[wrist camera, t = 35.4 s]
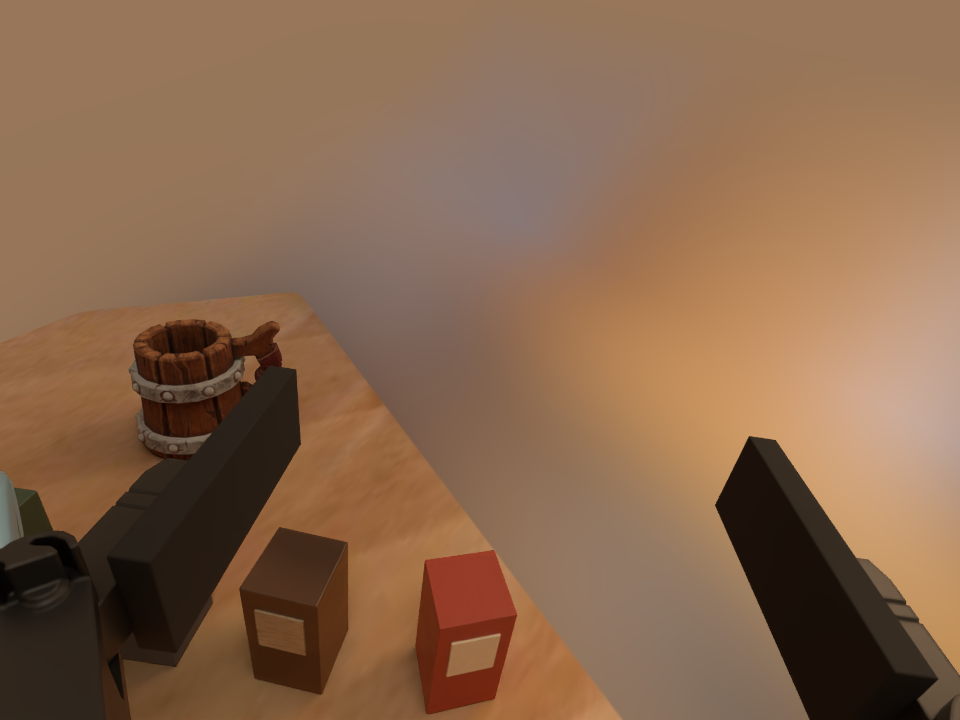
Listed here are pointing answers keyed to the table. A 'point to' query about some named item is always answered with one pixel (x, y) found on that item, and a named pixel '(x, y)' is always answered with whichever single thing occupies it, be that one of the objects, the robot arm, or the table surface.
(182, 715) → the table surface
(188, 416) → the mug
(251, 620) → the line block
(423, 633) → the red box
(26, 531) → the line block
